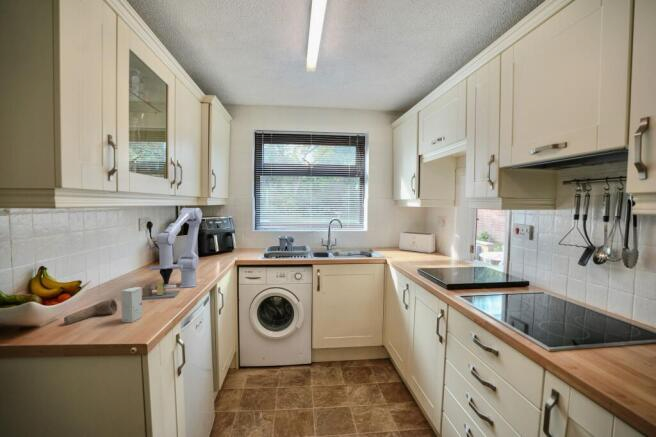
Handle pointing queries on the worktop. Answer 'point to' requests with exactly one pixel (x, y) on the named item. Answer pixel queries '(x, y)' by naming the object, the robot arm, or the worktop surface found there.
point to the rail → (153, 295)
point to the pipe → (93, 311)
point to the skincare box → (131, 304)
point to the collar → (160, 287)
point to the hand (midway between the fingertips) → (166, 283)
